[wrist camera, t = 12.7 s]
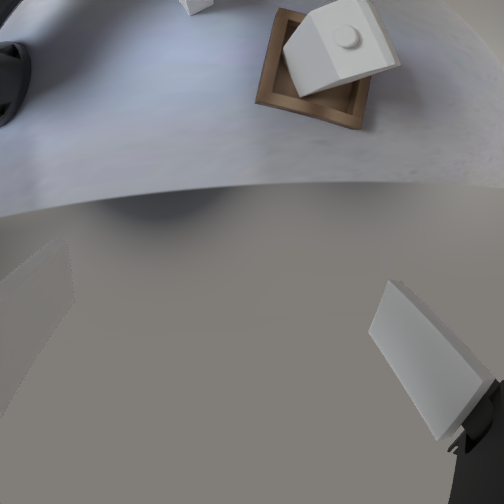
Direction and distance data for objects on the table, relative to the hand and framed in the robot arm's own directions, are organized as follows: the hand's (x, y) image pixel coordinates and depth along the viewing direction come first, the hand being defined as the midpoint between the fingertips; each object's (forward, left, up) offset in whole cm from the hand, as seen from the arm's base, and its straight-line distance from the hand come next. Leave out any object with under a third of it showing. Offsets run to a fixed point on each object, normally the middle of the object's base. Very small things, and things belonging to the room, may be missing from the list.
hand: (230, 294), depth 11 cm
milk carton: (+8, +18, -31) cm, 36 cm away
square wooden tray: (+9, +18, -31) cm, 37 cm away
